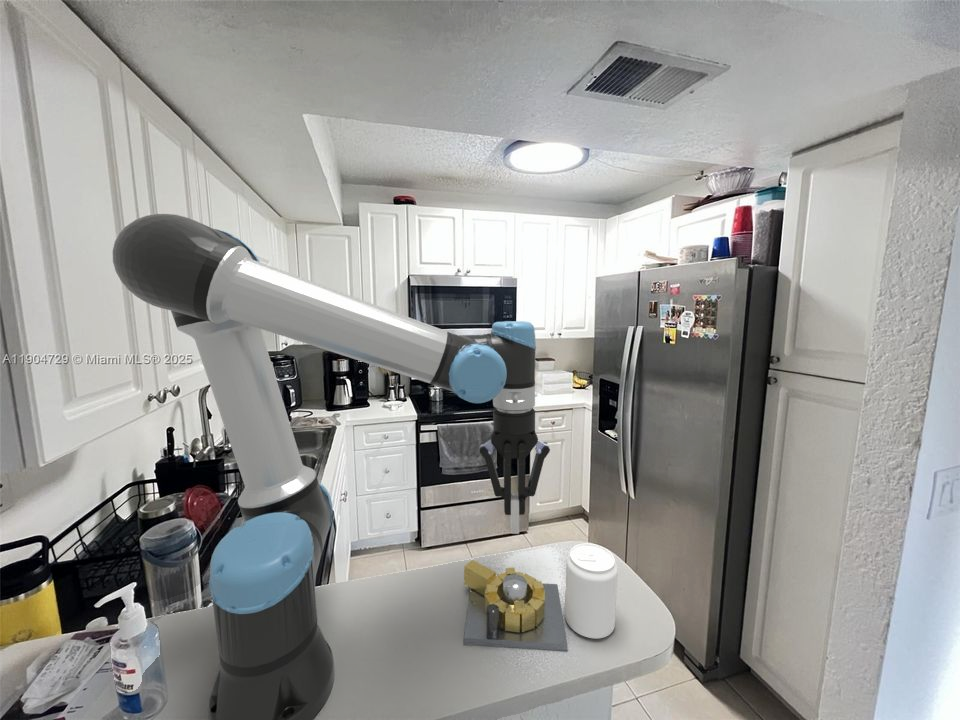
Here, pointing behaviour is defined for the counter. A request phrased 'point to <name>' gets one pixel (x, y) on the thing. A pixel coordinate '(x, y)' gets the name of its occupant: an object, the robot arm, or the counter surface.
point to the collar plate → (544, 636)
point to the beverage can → (591, 590)
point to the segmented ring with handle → (492, 589)
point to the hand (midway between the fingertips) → (514, 529)
